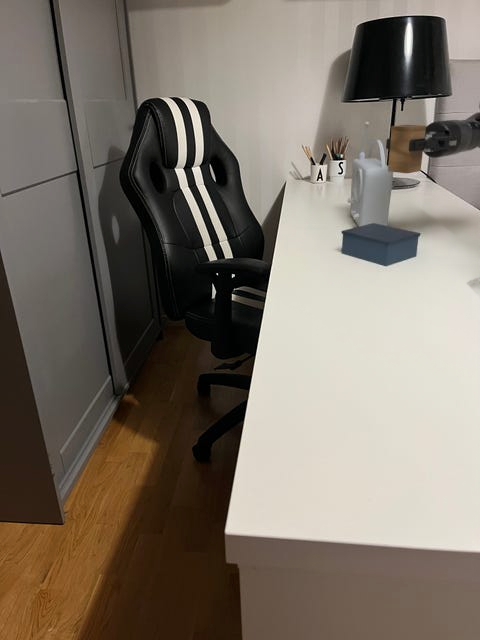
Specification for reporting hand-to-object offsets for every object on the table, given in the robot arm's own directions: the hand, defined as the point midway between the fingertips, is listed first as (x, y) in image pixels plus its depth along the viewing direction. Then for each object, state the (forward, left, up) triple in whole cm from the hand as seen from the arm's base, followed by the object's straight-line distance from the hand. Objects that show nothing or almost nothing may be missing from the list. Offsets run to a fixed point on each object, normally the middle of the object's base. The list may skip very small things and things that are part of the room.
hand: (399, 144), depth 103 cm
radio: (+10, -23, -22) cm, 33 cm away
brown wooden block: (-1, -2, -5) cm, 6 cm away
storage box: (+2, +5, -22) cm, 23 cm away
